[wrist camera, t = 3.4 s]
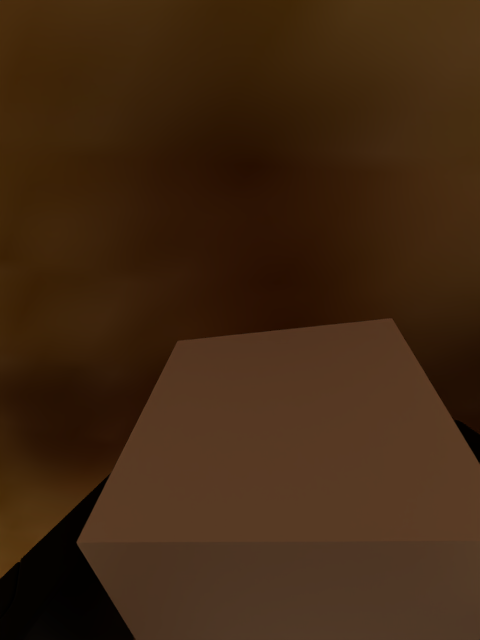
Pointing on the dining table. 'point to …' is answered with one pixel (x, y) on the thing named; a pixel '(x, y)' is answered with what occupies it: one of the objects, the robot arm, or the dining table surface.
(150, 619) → the terracotta block
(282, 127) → the dining table surface
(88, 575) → the robot arm
